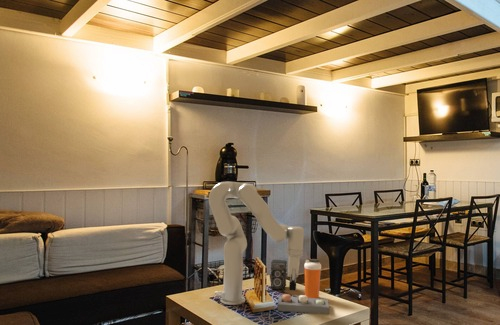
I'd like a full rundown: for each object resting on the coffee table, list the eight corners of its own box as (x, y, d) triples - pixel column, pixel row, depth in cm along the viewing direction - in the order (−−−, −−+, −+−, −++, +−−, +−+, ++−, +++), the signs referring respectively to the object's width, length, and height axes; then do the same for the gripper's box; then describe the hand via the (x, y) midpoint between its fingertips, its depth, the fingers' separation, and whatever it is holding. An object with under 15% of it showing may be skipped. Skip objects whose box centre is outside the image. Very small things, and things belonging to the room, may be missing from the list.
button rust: (282, 303, 197) (282, 296, 197) (282, 300, 201) (282, 293, 201) (290, 303, 197) (290, 296, 197) (290, 300, 201) (290, 294, 201)
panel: (277, 310, 194) (277, 304, 194) (278, 301, 205) (278, 296, 205) (329, 314, 191) (329, 307, 191) (327, 305, 203) (327, 299, 203)
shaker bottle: (320, 301, 208) (321, 262, 208) (302, 299, 210) (303, 260, 210) (320, 295, 217) (321, 258, 217) (303, 294, 219) (305, 256, 219)
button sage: (315, 308, 196) (315, 302, 196) (315, 305, 200) (315, 299, 200) (324, 309, 195) (324, 302, 195) (323, 306, 199) (323, 299, 199)
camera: (267, 290, 223) (268, 263, 223) (270, 285, 234) (270, 258, 233) (286, 292, 221) (287, 264, 221) (288, 286, 232) (289, 260, 232)
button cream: (299, 304, 196) (299, 297, 196) (298, 301, 200) (299, 294, 200) (307, 304, 196) (307, 298, 196) (307, 301, 200) (307, 295, 200)
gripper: (287, 248, 207) (284, 284, 207) (286, 255, 192) (284, 294, 192) (302, 249, 206) (299, 285, 206) (303, 256, 191) (300, 295, 191)
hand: (292, 289), depth 199 cm, fingers closed
